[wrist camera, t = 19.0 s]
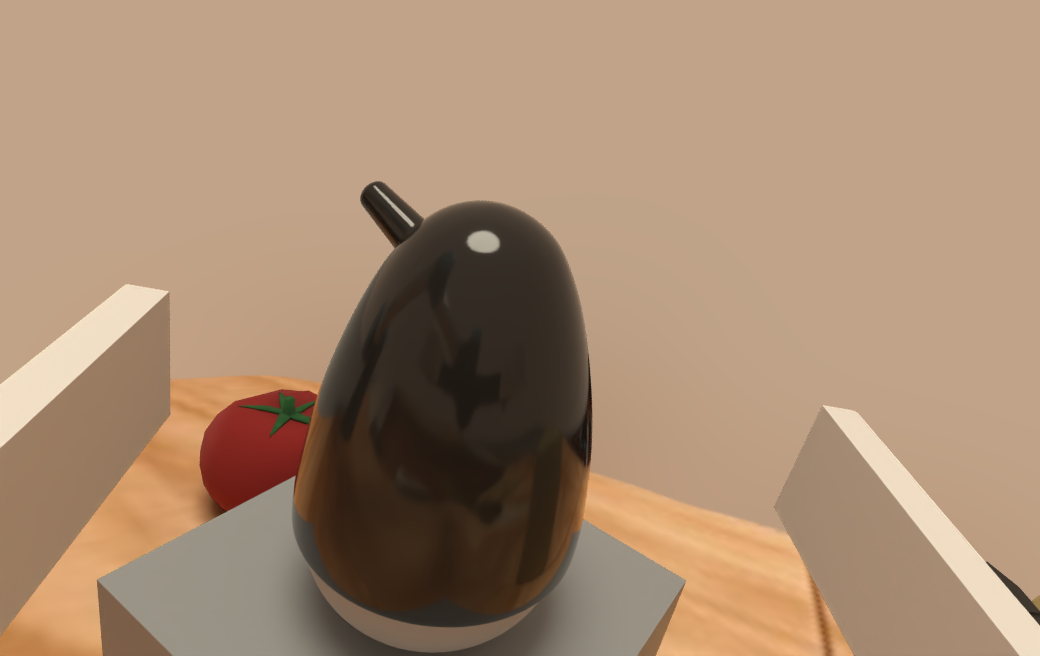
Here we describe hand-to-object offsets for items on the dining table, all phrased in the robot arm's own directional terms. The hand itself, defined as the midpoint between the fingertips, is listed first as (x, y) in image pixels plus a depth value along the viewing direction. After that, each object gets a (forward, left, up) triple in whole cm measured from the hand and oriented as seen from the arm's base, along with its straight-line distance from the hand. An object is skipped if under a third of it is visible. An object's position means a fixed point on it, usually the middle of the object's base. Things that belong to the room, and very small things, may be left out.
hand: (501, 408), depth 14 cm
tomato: (-19, +11, -22) cm, 31 cm away
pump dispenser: (-5, +6, -13) cm, 16 cm away
